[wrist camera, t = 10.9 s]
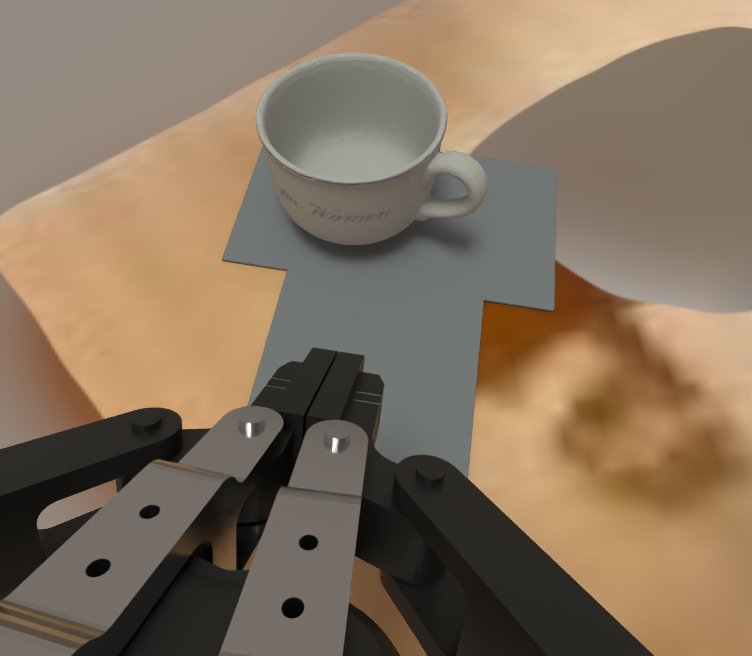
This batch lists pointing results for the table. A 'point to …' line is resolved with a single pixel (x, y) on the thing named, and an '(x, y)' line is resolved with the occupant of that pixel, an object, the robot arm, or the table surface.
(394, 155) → the teacup
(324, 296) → the t mat
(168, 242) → the table surface
